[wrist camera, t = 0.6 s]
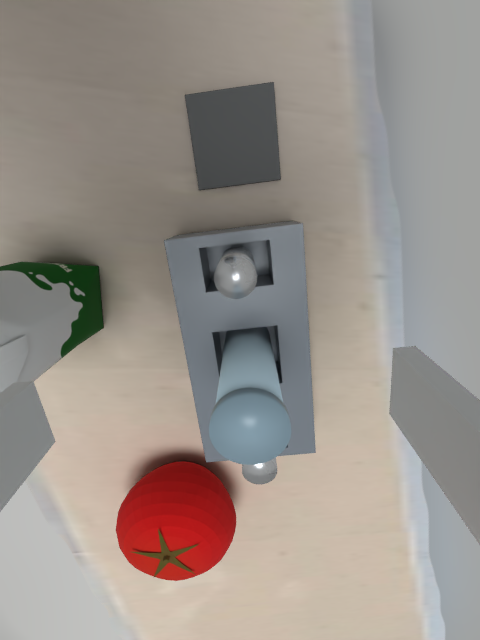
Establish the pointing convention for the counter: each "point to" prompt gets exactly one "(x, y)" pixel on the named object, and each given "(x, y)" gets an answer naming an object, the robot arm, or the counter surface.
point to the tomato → (176, 522)
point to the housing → (246, 317)
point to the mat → (234, 135)
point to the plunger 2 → (260, 472)
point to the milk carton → (44, 316)
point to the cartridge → (249, 401)
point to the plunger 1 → (236, 273)
